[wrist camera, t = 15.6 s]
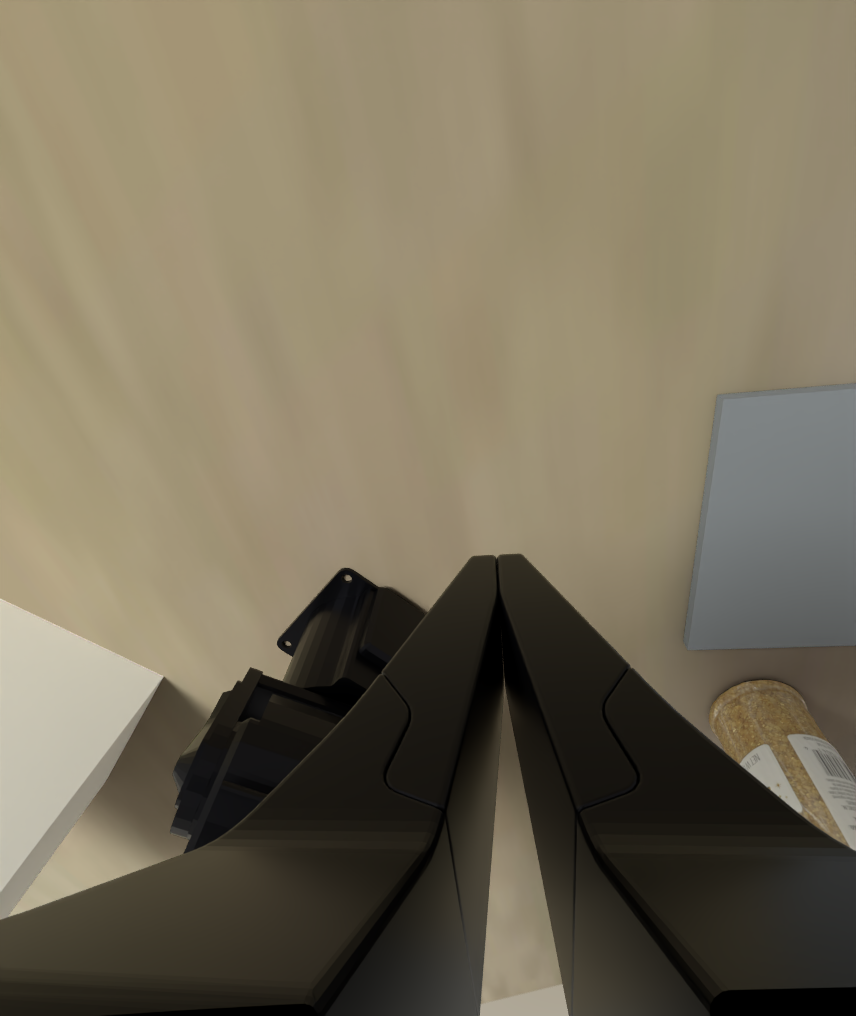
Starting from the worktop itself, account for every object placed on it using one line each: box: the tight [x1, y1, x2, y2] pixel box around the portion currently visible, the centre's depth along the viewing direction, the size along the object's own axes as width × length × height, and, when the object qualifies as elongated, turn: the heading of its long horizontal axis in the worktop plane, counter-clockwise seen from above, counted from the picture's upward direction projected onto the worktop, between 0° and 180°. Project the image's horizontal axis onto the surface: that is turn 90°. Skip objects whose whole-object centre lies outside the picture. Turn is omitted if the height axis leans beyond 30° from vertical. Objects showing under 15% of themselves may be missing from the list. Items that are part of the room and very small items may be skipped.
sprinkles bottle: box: [709, 680, 856, 851], centre depth 22 cm, size 5×5×14 cm
